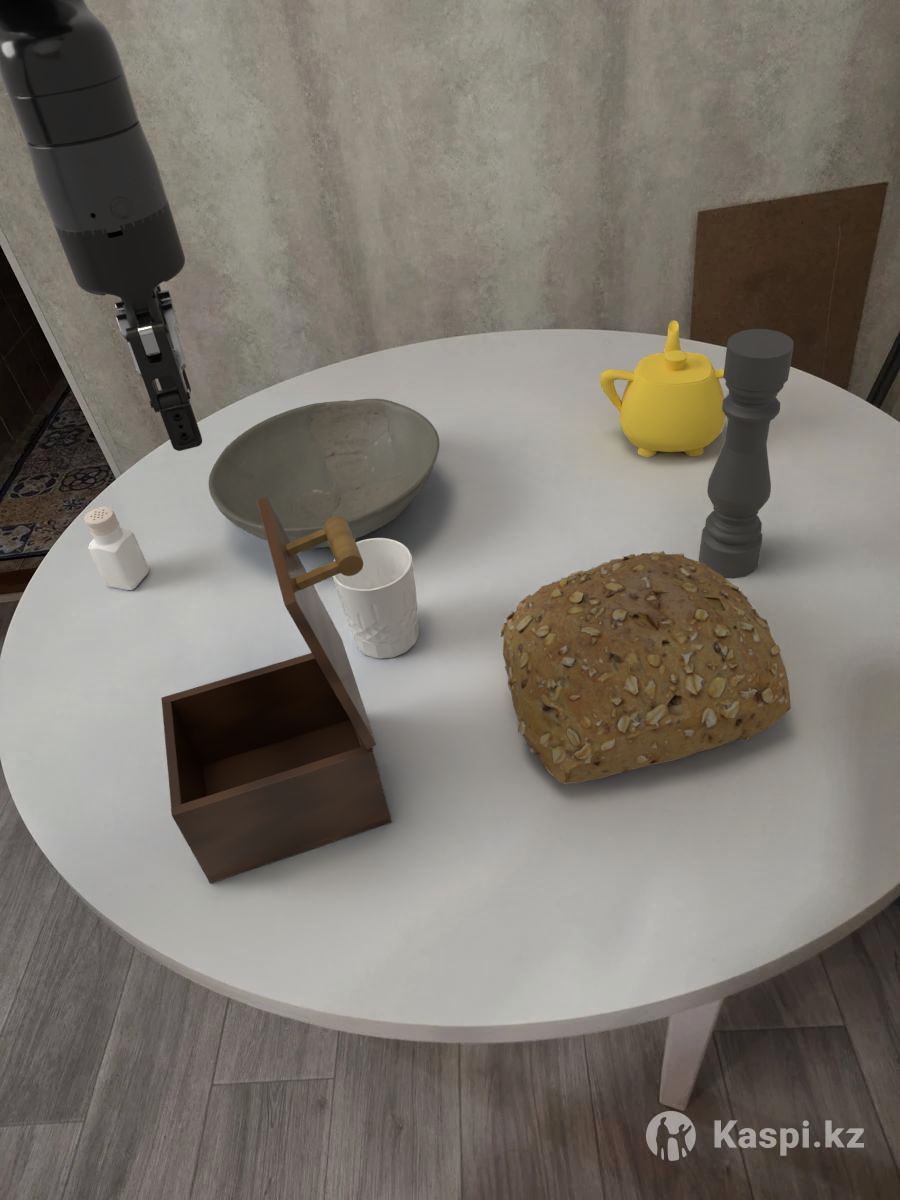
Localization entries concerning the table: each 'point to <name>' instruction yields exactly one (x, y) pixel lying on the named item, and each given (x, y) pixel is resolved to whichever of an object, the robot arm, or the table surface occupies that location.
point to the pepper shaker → (115, 550)
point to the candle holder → (744, 450)
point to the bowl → (326, 467)
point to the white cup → (381, 599)
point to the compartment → (267, 768)
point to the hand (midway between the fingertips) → (183, 420)
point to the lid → (319, 603)
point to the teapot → (669, 400)
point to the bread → (639, 666)
